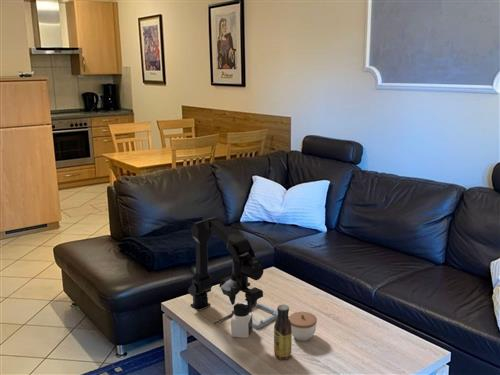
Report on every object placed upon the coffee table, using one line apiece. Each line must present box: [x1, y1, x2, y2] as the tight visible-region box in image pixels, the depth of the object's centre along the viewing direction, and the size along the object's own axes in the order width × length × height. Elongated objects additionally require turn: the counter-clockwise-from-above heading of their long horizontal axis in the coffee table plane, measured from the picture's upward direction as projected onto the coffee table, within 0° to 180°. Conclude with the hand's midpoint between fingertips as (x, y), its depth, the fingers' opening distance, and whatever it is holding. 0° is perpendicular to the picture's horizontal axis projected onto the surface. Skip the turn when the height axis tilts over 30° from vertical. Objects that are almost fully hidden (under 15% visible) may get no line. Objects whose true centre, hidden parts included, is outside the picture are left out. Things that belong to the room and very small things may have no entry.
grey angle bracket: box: [252, 302, 278, 330], centre depth 203 cm, size 12×14×2 cm
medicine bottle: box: [230, 302, 254, 339], centre depth 191 cm, size 7×7×12 cm
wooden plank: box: [231, 300, 258, 317], centre depth 209 cm, size 1×14×2 cm, turn 135°
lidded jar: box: [288, 311, 318, 342], centre depth 187 cm, size 11×11×9 cm
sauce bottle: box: [273, 304, 293, 361], centre depth 174 cm, size 6×6×20 cm
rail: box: [213, 312, 233, 325], centre depth 207 cm, size 1×23×1 cm, turn 136°
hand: (241, 308), depth 189 cm, fingers open, 9 cm apart
